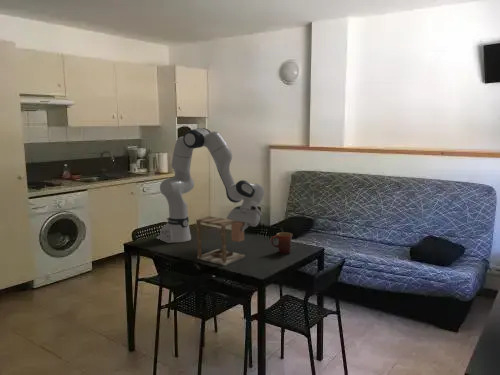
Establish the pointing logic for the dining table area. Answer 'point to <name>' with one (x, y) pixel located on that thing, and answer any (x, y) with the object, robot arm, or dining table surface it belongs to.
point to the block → (237, 231)
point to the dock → (222, 255)
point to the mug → (283, 242)
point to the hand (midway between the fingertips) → (237, 230)
